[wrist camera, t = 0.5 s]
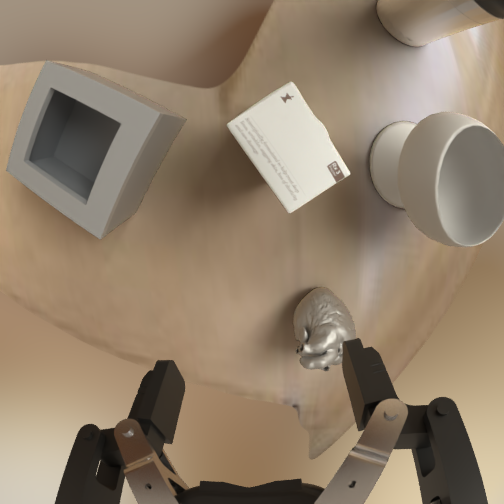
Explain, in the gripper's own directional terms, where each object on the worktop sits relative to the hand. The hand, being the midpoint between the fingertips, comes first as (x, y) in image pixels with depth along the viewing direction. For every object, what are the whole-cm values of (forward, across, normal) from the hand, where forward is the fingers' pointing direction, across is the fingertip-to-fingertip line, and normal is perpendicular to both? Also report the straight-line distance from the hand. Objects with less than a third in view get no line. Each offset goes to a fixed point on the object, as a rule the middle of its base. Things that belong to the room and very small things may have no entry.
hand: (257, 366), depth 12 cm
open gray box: (+25, +18, -14) cm, 33 cm away
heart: (+25, -6, +16) cm, 30 cm away
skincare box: (+25, -3, -8) cm, 27 cm away
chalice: (+26, -21, -4) cm, 33 cm away
